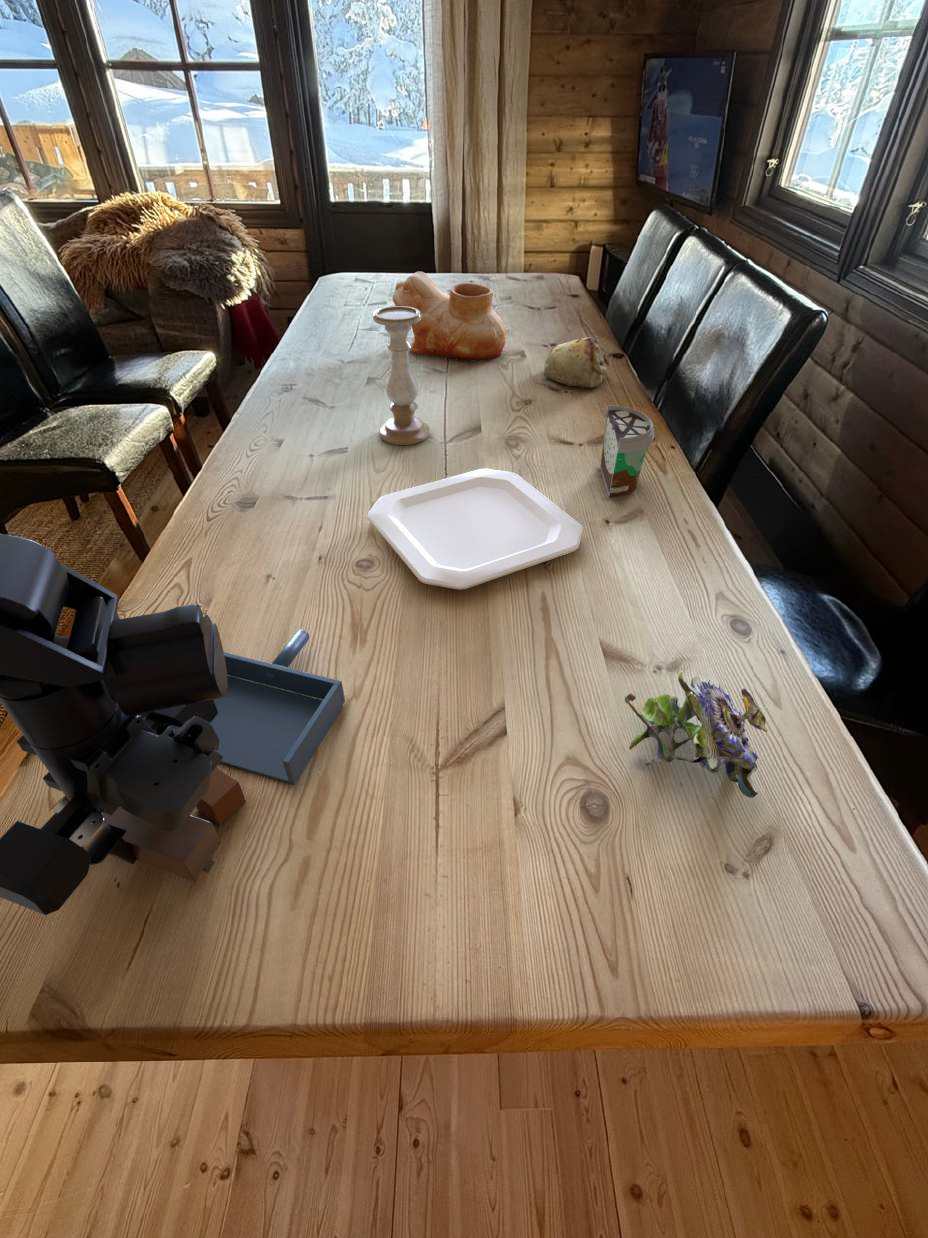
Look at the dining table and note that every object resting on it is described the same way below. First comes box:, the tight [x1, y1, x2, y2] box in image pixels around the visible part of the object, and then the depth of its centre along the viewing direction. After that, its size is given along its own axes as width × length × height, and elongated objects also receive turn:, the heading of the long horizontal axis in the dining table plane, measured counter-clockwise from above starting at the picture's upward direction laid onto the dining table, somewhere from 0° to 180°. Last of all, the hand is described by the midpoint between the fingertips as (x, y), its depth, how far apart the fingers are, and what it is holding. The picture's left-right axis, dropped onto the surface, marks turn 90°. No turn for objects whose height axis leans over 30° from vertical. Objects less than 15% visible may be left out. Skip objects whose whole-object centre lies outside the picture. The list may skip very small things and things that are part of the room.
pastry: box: [543, 336, 607, 389], centre depth 134 cm, size 14×12×8 cm
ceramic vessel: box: [391, 271, 507, 363], centre depth 144 cm, size 14×26×15 cm, turn 67°
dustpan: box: [143, 629, 346, 786], centre depth 68 cm, size 17×16×3 cm
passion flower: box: [624, 670, 768, 799], centre depth 60 cm, size 11×11×12 cm
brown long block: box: [104, 806, 222, 882], centre depth 54 cm, size 12×4×4 cm, turn 71°
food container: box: [599, 404, 655, 498], centre depth 100 cm, size 12×6×10 cm, turn 179°
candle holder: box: [372, 305, 431, 446], centre depth 109 cm, size 9×9×20 cm
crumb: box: [195, 766, 247, 826], centre depth 58 cm, size 3×3×3 cm
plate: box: [366, 468, 584, 590], centre depth 91 cm, size 25×25×2 cm
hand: (146, 840), depth 54 cm, fingers closed on brown long block, 3 cm apart
